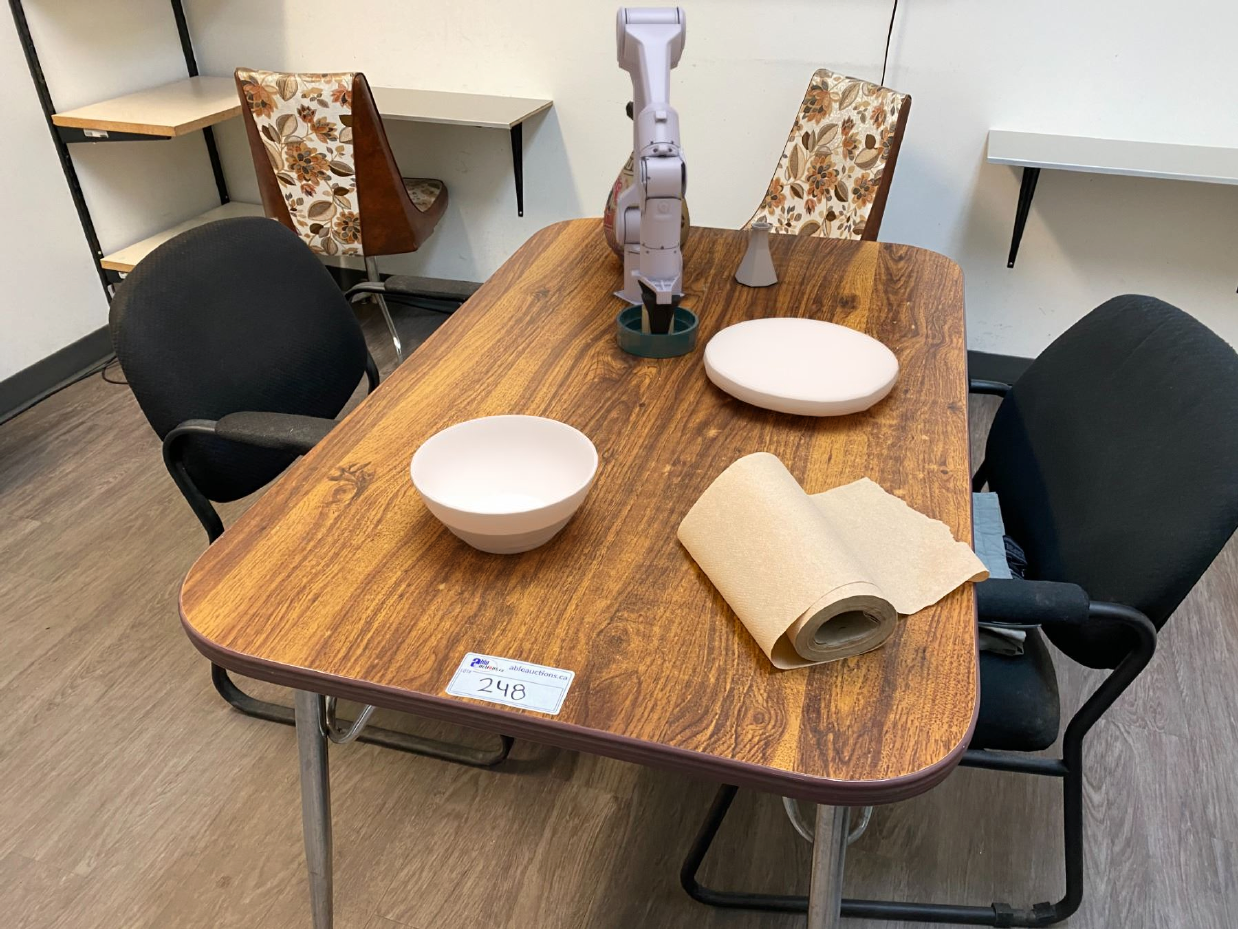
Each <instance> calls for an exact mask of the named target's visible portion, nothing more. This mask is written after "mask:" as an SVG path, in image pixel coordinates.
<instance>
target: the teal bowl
mask: <svg viewBox="0 0 1238 929" xmlns="http://www.w3.org/2000/svg"><path fill="white" fill-rule="evenodd" d="M642 305H644V304H639V305H631V306H627V307H626V308H624V309H622V310H620V311H619V313H618V314H617V315H616V344H617V346H618V347H619V348H620V349H621V350H623V351H624V352H626V353H628V354H630V355H634V356H638V357H641V358H648V359H670V358H676V357H680V356H683V355H687V354H688V353H691V352H693V351H694V350H695V349H696V347H697V345H698V343H699V331H700V330H699V329H700V328H699V327H700V319H699V315H697V314H696V313H695V311H693V310H691V309H689V308H686V307H684V306H681V305H679V306H678V307H677V309H676V310H675V312H674V324H673V333H672V334H647V333H641V330H642Z"/></svg>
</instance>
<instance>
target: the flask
mask: <svg viewBox="0 0 1238 929" xmlns="http://www.w3.org/2000/svg"><path fill="white" fill-rule="evenodd" d="M750 226H751V229H752V231H751V236H750V240H749V244H748V247H747V249H746V251H745V253H744V256H743V258H742V260H741V262H740V264H739V266H738V268H737V270H736V273H735V275H734V277H735V279H736V280H737V282H738V283H741V284H744V285H746V286H750V287H767V286H771V285H772V284H776V283H777V282H778V278H777V274H776V271H775V268H774V264H773V258H772V256H771V252H770V247H769V246H770V244H769V230H771V228H772V225H771V224H770V223H769V222H764V221H755V222H751V223H750Z"/></svg>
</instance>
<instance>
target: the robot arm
mask: <svg viewBox="0 0 1238 929" xmlns="http://www.w3.org/2000/svg"><path fill="white" fill-rule="evenodd" d="M686 38H687V17H686V11H685V10H684V8H683V7H682V6H680V5H679V6H676V7H625V6H623V5H622V6H620V7H619V8H618V9H617V11H616V16H615V41H616V42H615V43H616V61H617V62H618V68H619V69H621V70H624V71H625V72H627V73H628V74H629V77H630V80H631V85H632V102H633V120H632V121H633V122H632V124H633V126H632V127H633V128H632V131H633V132H632V134H633V135H632V136H633V139H632V141H633V142H632V143H633V144H632V145H633V146H632V147H633V148H632V149H633V150H632V152H633V153H634V183H633V184H632V185H631V186H630V187H629V188H628V189H626V190H625V191H624V192H623V193H621V194H620V195H619V197H618V199H617V210H616V239H617V242H618V243H619V245H620V246H624V265H623V289H621V290H618V291H614V292H613V293H612V294H613V295H615V296H617V297H619V298H620V299H622V300H625V301H627V302H628V303H630V304H632V305H633V306H635V305H639V304H644V305H645V307H646V309H647V312H648V316H649V324H650V331H651V334H668V332H669V328H670V324H671V320H672V317H673V315H674V312H675V310H676V309H677V307H678V306H680V304H681V301H682V297H684V296H685V293H682V288H683V286H682V284H683V282H682V281H683V263H684V261H683V255H682V251H680V230H681V207H682V200H681V198H680V193H681V195H682V198H683V199H684V198H685V199H686V193H687V188H688V166H687V161H686V156H685V153H684V148H682V147H681V146H682V145H681V133H680V132H681V131H680V120H679V119H680V117H679V113H678V112H677V110H676V109H674V107H672V106H671V105H670V96H671V71H672V70H673V69H676V68H678V65H679V62H680V61H681V59H682V56H683V55H682V54H683V53H684V52H683V51H684V49H685V47H686V46H685V45H686ZM631 204H639V206H629V205H631Z"/></svg>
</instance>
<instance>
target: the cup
mask: <svg viewBox="0 0 1238 929" xmlns="http://www.w3.org/2000/svg"><path fill="white" fill-rule="evenodd" d="M673 324H674V315H673V317H672V320H671V324H670V328H669V332H668V334H672V333H673ZM641 333H647V334H651V331H650V324H649V316H648V312H647V309H646V307H645V305H642V330H641Z"/></svg>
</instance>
